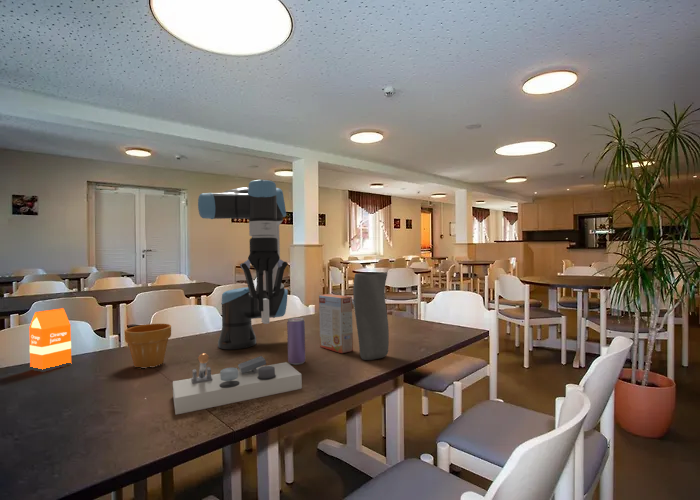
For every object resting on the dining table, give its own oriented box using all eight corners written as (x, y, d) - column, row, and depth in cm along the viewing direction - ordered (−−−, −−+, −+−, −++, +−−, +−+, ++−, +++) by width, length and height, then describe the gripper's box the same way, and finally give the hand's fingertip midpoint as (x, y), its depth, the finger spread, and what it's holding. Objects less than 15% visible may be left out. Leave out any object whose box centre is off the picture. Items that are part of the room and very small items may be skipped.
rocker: (238, 369, 107) (237, 364, 107) (262, 360, 110) (261, 355, 110) (242, 373, 103) (241, 368, 103) (266, 364, 106) (265, 359, 106)
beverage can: (302, 365, 124) (301, 320, 124) (285, 364, 125) (284, 320, 125) (307, 360, 130) (306, 317, 130) (291, 359, 131) (290, 317, 131)
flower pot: (178, 363, 129) (177, 326, 129) (133, 374, 118) (132, 334, 118) (163, 356, 138) (162, 321, 138) (120, 365, 128) (119, 328, 128)
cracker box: (354, 351, 140) (352, 296, 140) (341, 354, 136) (340, 297, 136) (331, 344, 151) (330, 293, 151) (319, 347, 147) (318, 294, 147)
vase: (364, 364, 123) (362, 274, 123) (349, 355, 134) (347, 273, 134) (396, 359, 128) (394, 273, 128) (379, 351, 139) (377, 271, 139)
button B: (219, 376, 98) (219, 369, 98) (236, 373, 100) (236, 366, 100) (221, 382, 94) (221, 374, 94) (239, 378, 96) (239, 371, 96)
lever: (196, 373, 100) (198, 351, 94) (206, 371, 101) (208, 350, 96) (197, 382, 99) (199, 360, 93) (207, 380, 100) (210, 358, 94)
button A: (256, 375, 103) (256, 367, 103) (272, 372, 105) (272, 365, 105) (260, 379, 99) (260, 372, 99) (276, 376, 101) (276, 369, 101)
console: (173, 396, 100) (172, 370, 100) (287, 374, 115) (286, 352, 115) (175, 414, 88) (174, 385, 88) (301, 388, 103) (301, 363, 103)
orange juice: (71, 365, 130) (70, 308, 130) (42, 373, 122) (40, 312, 122) (59, 362, 133) (57, 307, 133) (29, 370, 125) (28, 311, 125)
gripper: (242, 237, 95) (244, 328, 96) (290, 236, 101) (292, 322, 102) (236, 237, 102) (238, 323, 102) (282, 237, 108) (284, 317, 108)
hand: (265, 322), depth 102 cm, fingers closed
